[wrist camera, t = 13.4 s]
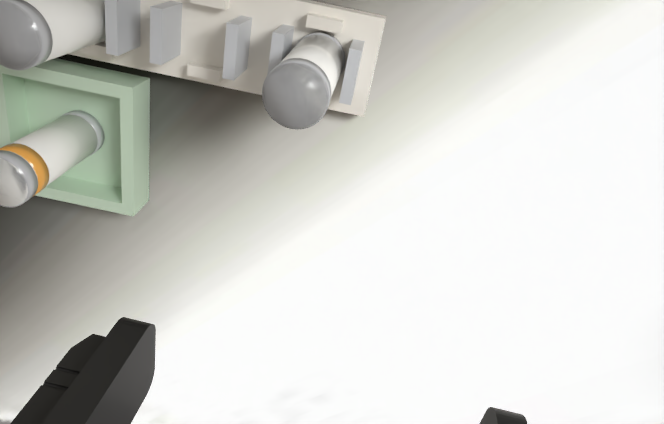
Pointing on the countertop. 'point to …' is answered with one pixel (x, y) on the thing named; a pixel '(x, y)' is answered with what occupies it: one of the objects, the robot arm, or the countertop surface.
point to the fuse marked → (46, 155)
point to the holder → (237, 41)
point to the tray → (111, 112)
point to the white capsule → (304, 81)
